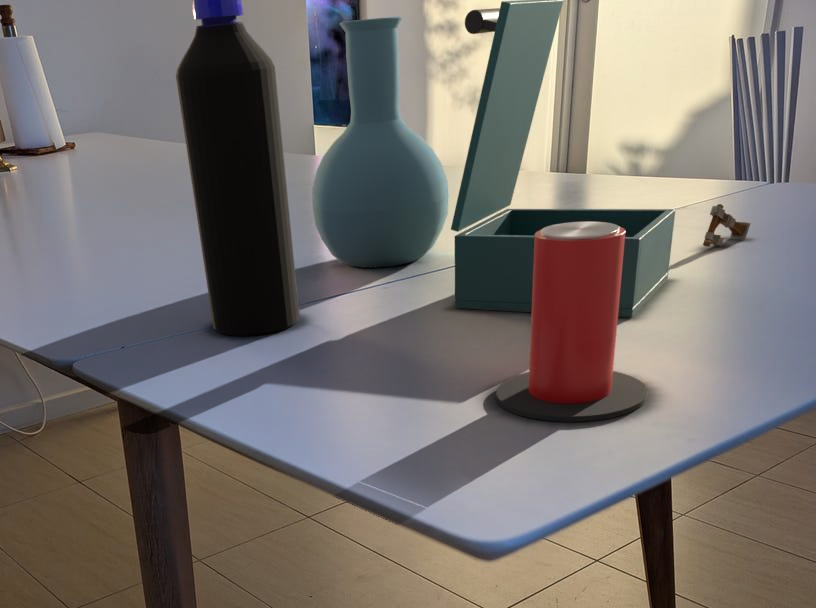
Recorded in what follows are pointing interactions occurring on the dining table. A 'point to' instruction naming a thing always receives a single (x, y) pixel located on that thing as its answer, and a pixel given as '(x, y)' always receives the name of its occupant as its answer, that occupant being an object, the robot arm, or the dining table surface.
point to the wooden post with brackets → (720, 217)
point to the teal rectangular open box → (514, 256)
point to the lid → (504, 103)
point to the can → (575, 311)
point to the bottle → (238, 174)
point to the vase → (378, 164)
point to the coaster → (619, 402)
